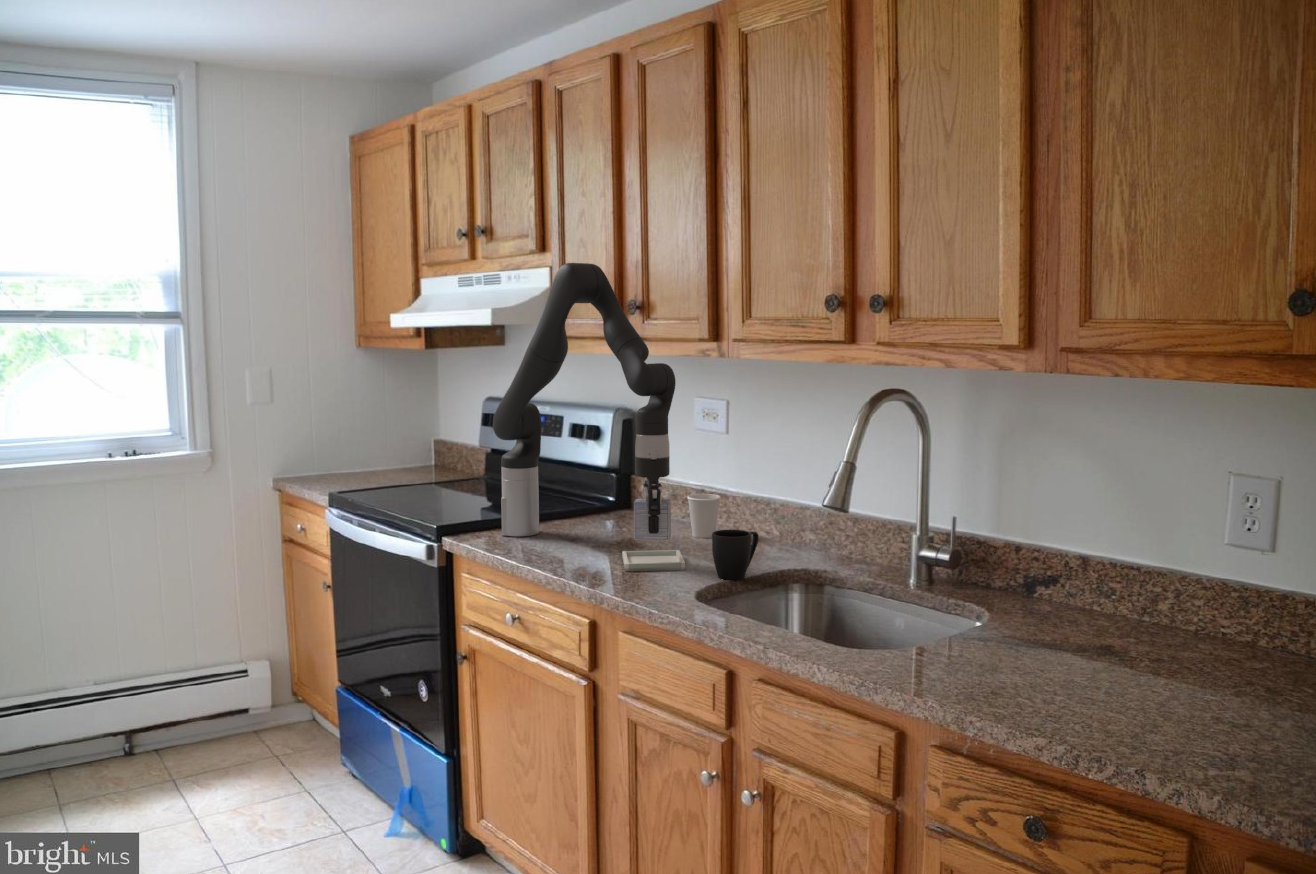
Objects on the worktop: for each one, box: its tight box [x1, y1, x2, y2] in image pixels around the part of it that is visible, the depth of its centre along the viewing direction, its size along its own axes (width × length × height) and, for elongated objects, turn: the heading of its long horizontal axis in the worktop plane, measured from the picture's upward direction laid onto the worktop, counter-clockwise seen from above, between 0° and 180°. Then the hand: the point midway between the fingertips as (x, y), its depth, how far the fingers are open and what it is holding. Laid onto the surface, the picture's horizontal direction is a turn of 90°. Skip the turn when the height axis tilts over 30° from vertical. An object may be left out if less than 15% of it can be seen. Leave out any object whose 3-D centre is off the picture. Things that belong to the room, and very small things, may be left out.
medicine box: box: [633, 498, 672, 541], centre depth 235 cm, size 8×4×9 cm, turn 84°
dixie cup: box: [687, 493, 722, 539], centre depth 266 cm, size 8×8×10 cm
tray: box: [621, 549, 686, 572], centre depth 236 cm, size 13×13×2 cm
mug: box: [711, 529, 759, 582], centre depth 224 cm, size 8×12×10 cm
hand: (652, 530), depth 235 cm, fingers closed on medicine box, 5 cm apart
